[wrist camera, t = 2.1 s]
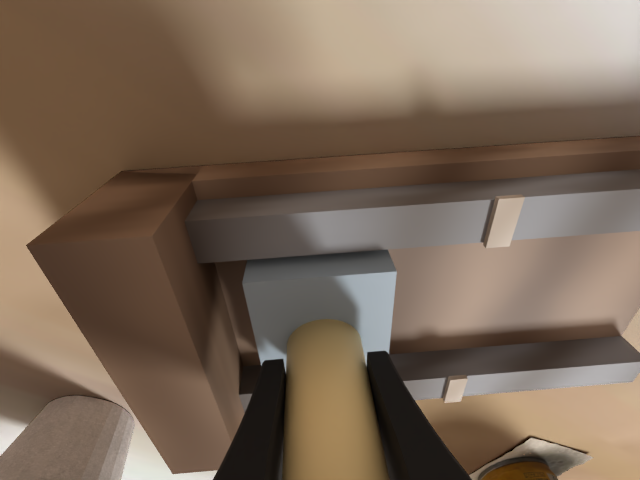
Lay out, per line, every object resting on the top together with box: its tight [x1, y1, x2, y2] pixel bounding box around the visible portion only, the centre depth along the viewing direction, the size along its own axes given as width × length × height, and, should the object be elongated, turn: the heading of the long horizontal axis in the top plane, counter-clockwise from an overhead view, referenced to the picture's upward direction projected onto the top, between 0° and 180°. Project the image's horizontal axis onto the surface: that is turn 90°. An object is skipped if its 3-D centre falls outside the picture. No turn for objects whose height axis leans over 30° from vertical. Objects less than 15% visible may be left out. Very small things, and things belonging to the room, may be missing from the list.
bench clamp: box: [26, 136, 640, 474], centre depth 13 cm, size 22×12×5 cm, turn 93°
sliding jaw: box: [242, 250, 397, 480], centre depth 11 cm, size 5×7×8 cm
